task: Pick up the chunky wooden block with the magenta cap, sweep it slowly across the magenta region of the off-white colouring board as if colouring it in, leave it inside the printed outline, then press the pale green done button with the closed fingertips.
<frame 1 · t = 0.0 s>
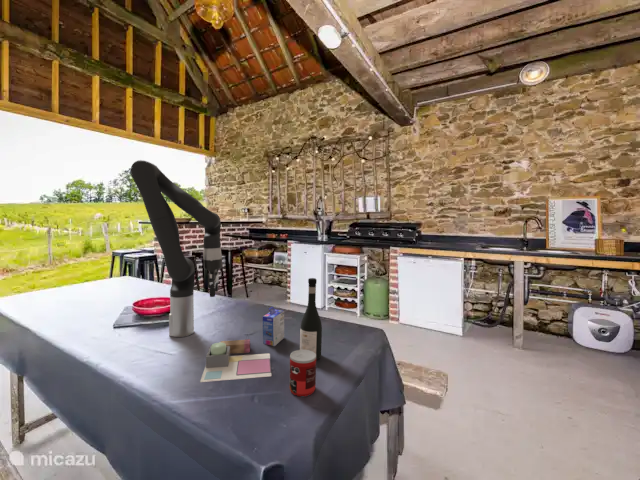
hand: (214, 294, 130), 17 cm above the table, tool pointing down, fingers open, 8 cm apart
button housing: (218, 362, 103), resting on colouring board
wooden block: (235, 352, 112), on the table
canned food: (302, 390, 90), on the table
ink cartridge box: (273, 341, 123), on the table
colouring board: (238, 368, 101), on the table
done button: (218, 350, 103), point 5 cm above the table, slide at 0.0 cm
wine bottle: (310, 357, 110), on the table
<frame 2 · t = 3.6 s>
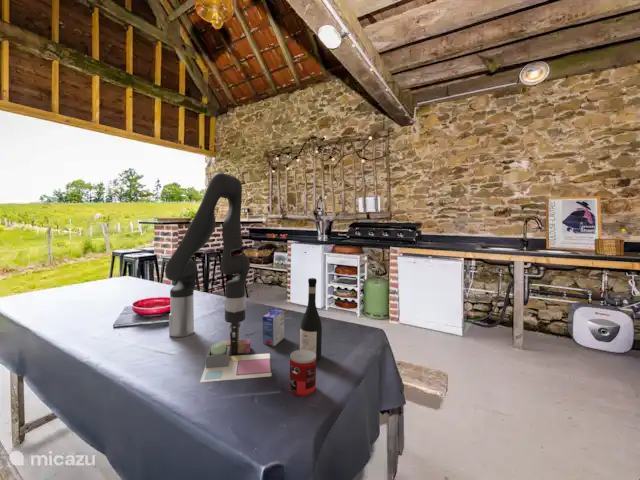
hand: (235, 351, 112), 0 cm above the table, tool pointing down, fingers closed on wooden block, 4 cm apart
wooden block: (235, 352, 112), on the table, touching gripper
everything else where it was.
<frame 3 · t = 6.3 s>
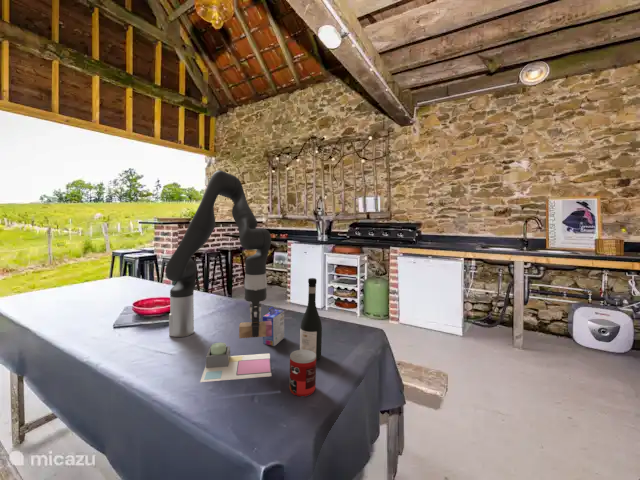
hand: (255, 333, 103), 11 cm above the table, tool pointing down, fingers closed on wooden block, 4 cm apart
wooden block: (255, 334, 103), point 11 cm above the table, touching gripper
everything else where it was.
when the fingers open (2 cm above the table, at t = 9.2 s): wooden block stays where it is, resting on colouring board.
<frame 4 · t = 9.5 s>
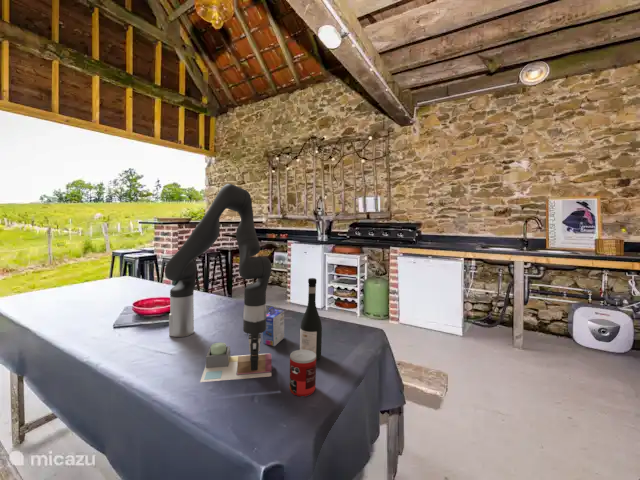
hand: (254, 364, 99), 2 cm above the table, tool pointing down, fingers open, 6 cm apart
wooden block: (254, 369, 99), point 1 cm above the table, touching colouring board
everything else where it was.
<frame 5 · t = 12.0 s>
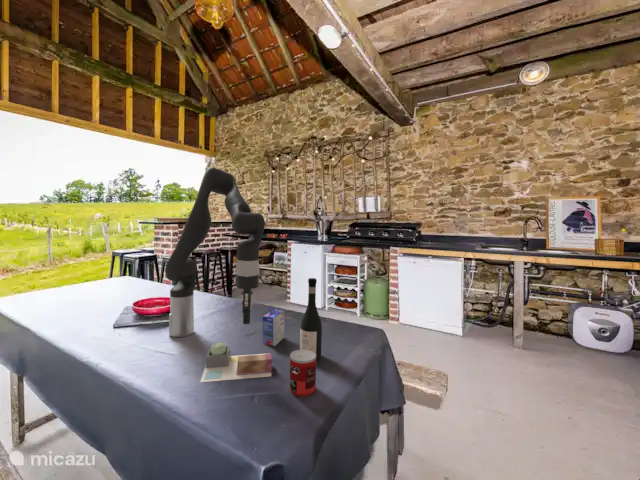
hand: (246, 323, 99), 16 cm above the table, tool pointing down, fingers closed
nothing on the table moved.
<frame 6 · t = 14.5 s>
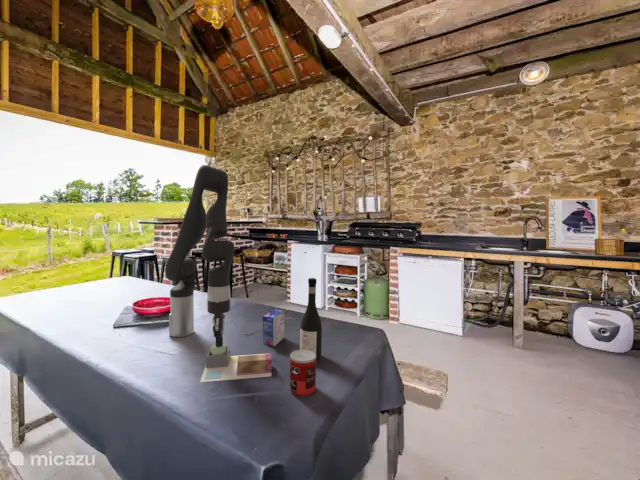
hand: (219, 345, 103), 7 cm above the table, tool pointing down, fingers closed
done button: (218, 351, 103), point 5 cm above the table, slide at 0.2 cm, touching gripper
everything else where it was.
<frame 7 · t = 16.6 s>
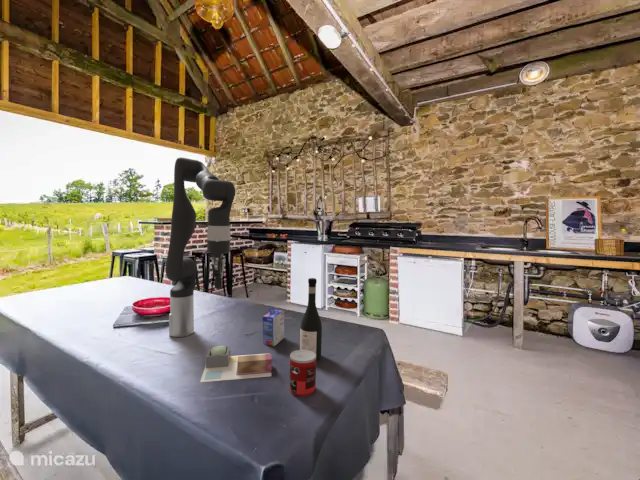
hand: (218, 288, 102), 27 cm above the table, tool pointing down, fingers closed
done button: (218, 354, 103), point 3 cm above the table, slide at 1.2 cm
everything else where it was.
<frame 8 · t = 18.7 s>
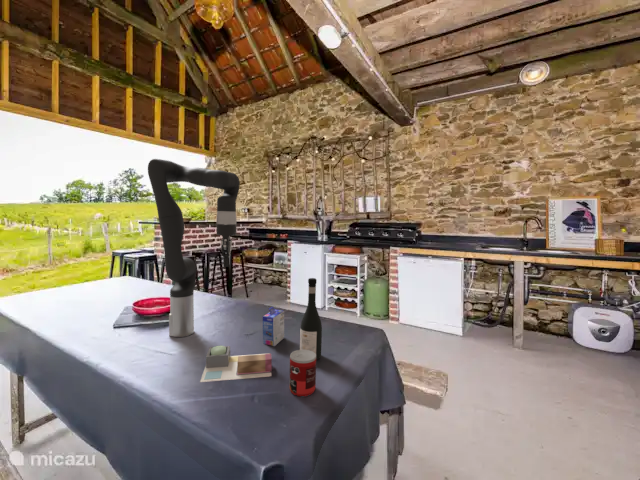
hand: (226, 266, 117), 32 cm above the table, tool pointing down, fingers closed
nothing on the table moved.
at the end: wooden block inside the target area (1.9 cm from its centre), point 0.7 cm above the table; the gripper is holding nothing; done button slide at 1.2 cm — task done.
